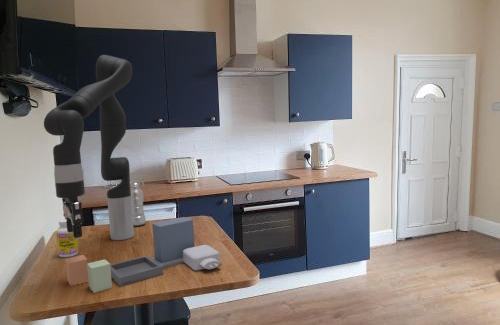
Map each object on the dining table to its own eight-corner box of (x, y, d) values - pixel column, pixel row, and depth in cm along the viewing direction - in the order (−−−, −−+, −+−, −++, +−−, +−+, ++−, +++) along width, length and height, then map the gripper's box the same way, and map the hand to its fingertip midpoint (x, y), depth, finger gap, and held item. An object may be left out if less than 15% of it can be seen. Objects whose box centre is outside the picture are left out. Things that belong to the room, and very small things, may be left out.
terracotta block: (67, 281, 112) (65, 258, 112) (85, 276, 115) (83, 254, 114) (71, 286, 108) (68, 263, 108) (89, 281, 111) (87, 259, 110)
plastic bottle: (148, 223, 177) (144, 181, 175) (142, 227, 171) (139, 183, 169) (134, 223, 178) (131, 181, 176) (128, 227, 171) (125, 184, 169)
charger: (201, 278, 110) (183, 263, 123) (229, 271, 115) (209, 257, 128) (200, 262, 110) (182, 249, 123) (228, 256, 115) (208, 243, 127)
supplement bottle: (57, 259, 133) (53, 223, 131) (60, 253, 139) (57, 219, 138) (77, 256, 134) (74, 221, 133) (80, 250, 141) (77, 217, 140)
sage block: (89, 287, 107) (86, 263, 107) (107, 282, 110) (105, 259, 110) (93, 293, 103) (91, 268, 103) (112, 287, 106) (110, 263, 106)
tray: (107, 273, 117) (106, 265, 117) (147, 262, 125) (146, 255, 124) (120, 286, 107) (119, 278, 106) (163, 274, 114) (162, 266, 114)
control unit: (149, 260, 127) (147, 222, 126) (187, 250, 135) (184, 215, 134) (161, 268, 119) (159, 228, 118) (200, 257, 127) (198, 220, 126)
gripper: (89, 180, 105) (94, 236, 107) (77, 176, 117) (82, 227, 118) (59, 183, 101) (65, 242, 102) (50, 179, 112) (56, 232, 114)
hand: (74, 234), depth 110 cm, fingers open, 8 cm apart
